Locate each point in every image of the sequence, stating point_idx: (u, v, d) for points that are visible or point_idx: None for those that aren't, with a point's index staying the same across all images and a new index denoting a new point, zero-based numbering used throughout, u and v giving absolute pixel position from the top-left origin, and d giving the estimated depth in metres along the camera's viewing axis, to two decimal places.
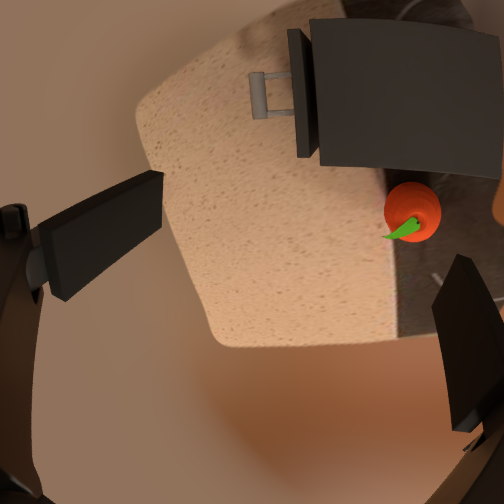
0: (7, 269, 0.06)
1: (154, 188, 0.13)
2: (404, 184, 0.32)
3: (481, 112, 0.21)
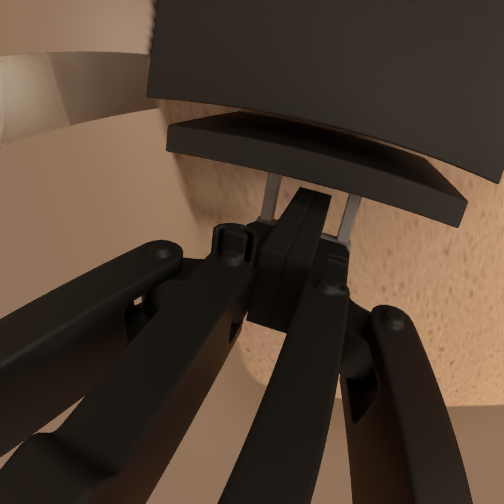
0: (213, 305, 0.07)
1: None
2: None
3: None
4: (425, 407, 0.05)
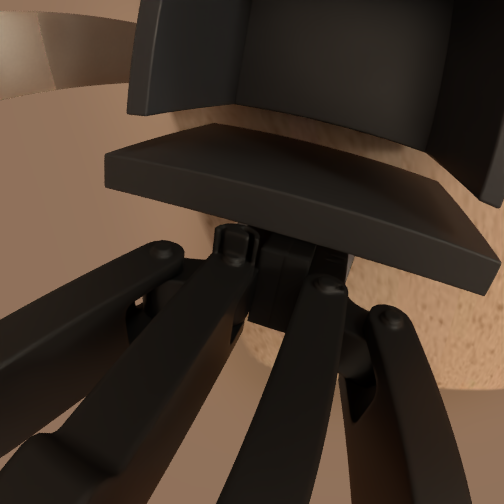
0: (214, 306, 0.07)
1: None
2: None
3: None
4: (424, 406, 0.05)
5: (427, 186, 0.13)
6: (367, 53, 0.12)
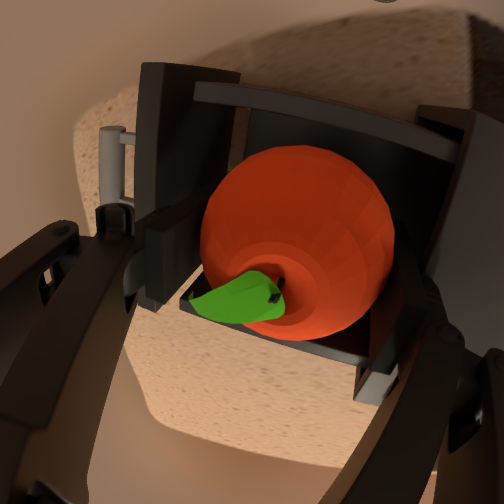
0: (102, 275, 0.07)
1: None
2: (279, 148, 0.10)
3: None
4: None
5: None
6: None
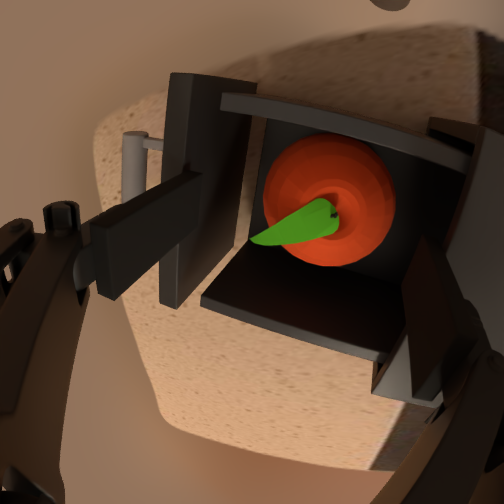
0: (53, 269, 0.07)
1: (194, 188, 0.14)
2: (321, 134, 0.15)
3: None
4: None
5: (223, 245, 0.23)
6: None
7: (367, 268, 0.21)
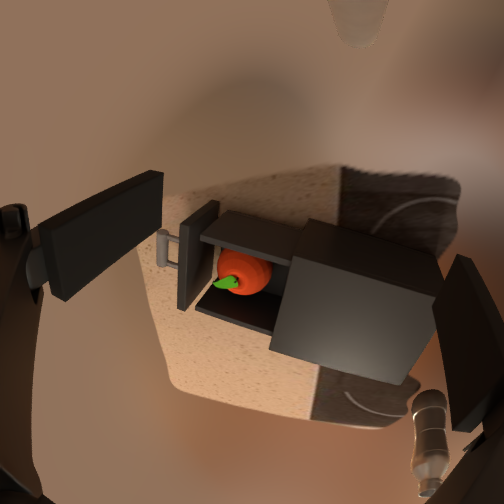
0: (7, 269, 0.06)
1: (154, 188, 0.13)
2: None
3: (402, 349, 0.33)
4: None
5: (205, 279, 0.46)
6: None
7: (276, 291, 0.45)
